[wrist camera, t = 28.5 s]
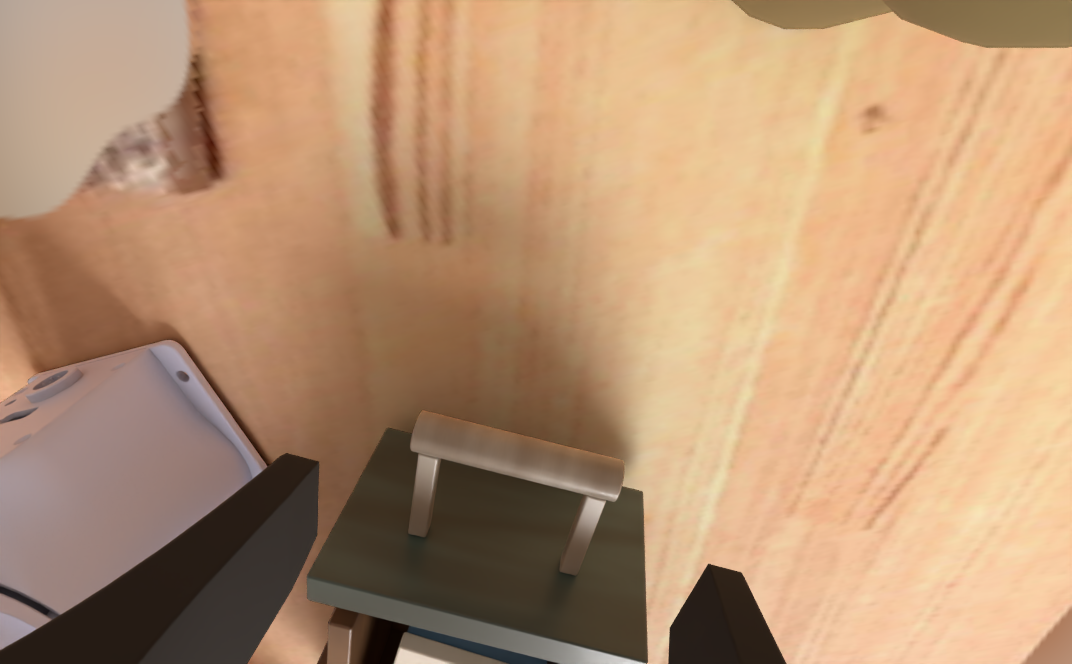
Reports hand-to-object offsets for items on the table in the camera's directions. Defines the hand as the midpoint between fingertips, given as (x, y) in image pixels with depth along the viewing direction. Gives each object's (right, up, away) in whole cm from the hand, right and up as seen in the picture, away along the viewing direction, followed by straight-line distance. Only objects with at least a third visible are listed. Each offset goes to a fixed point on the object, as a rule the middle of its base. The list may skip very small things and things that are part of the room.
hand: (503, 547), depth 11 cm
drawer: (-1, -4, +14) cm, 14 cm away
